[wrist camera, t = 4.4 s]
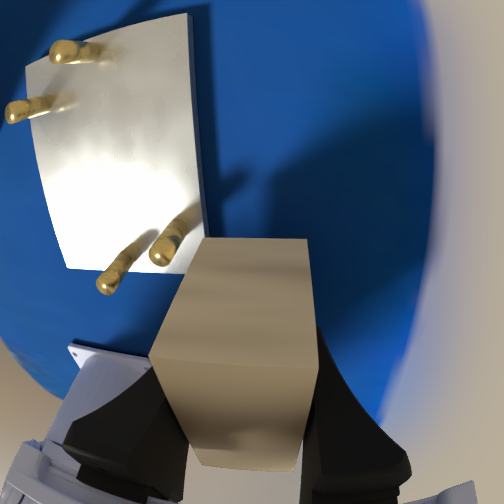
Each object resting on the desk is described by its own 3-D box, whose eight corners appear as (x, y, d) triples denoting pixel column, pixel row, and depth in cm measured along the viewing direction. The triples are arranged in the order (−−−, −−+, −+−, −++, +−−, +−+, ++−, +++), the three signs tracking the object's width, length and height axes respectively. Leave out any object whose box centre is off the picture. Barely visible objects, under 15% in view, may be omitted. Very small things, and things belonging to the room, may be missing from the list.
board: (295, 370, 16) (293, 472, 10) (222, 366, 16) (201, 465, 11) (306, 239, 11) (318, 367, 6) (203, 237, 12) (148, 355, 7)
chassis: (212, 265, 16) (197, 307, 13) (74, 260, 16) (46, 291, 14) (192, 16, 9) (164, -2, 7) (35, 65, 10) (-8, 71, 8)
